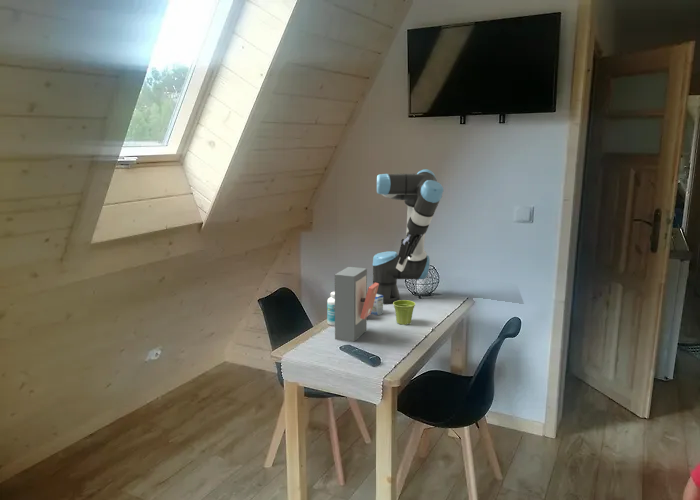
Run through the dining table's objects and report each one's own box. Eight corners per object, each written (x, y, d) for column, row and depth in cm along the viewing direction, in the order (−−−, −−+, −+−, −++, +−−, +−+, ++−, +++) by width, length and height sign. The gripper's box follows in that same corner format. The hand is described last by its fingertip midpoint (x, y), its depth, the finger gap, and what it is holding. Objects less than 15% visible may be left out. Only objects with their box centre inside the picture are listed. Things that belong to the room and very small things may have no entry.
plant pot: (413, 327, 227) (414, 307, 225) (391, 325, 229) (391, 305, 227) (415, 319, 236) (416, 300, 234) (394, 318, 238) (394, 299, 236)
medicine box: (363, 312, 247) (363, 293, 245) (369, 309, 250) (369, 291, 248) (377, 315, 242) (377, 296, 240) (383, 313, 245) (383, 294, 244)
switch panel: (348, 327, 226) (348, 266, 221) (371, 331, 222) (372, 269, 217) (335, 339, 213) (334, 274, 208) (359, 342, 209) (359, 277, 204)
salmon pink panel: (367, 312, 218) (375, 282, 214) (371, 313, 217) (379, 283, 214) (360, 317, 211) (368, 287, 207) (364, 319, 210) (372, 288, 206)
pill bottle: (324, 325, 229) (324, 294, 227) (331, 319, 236) (331, 289, 233) (341, 327, 227) (341, 296, 224) (347, 321, 234) (347, 291, 231)
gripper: (420, 210, 204) (400, 258, 218) (401, 220, 195) (382, 270, 209) (437, 220, 201) (415, 268, 215) (418, 231, 192) (397, 281, 206)
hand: (399, 269), depth 212 cm, fingers closed
